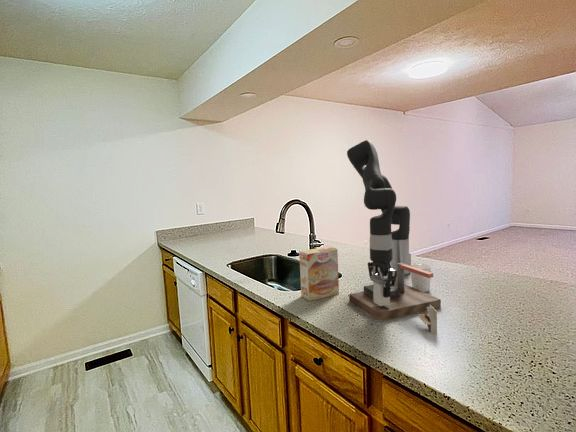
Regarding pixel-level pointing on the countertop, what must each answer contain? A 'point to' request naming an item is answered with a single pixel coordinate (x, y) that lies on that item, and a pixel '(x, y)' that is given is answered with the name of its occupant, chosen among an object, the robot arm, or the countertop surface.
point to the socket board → (394, 302)
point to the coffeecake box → (319, 273)
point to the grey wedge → (430, 319)
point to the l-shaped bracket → (402, 267)
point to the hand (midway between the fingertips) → (382, 294)
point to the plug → (379, 291)
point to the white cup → (421, 278)
